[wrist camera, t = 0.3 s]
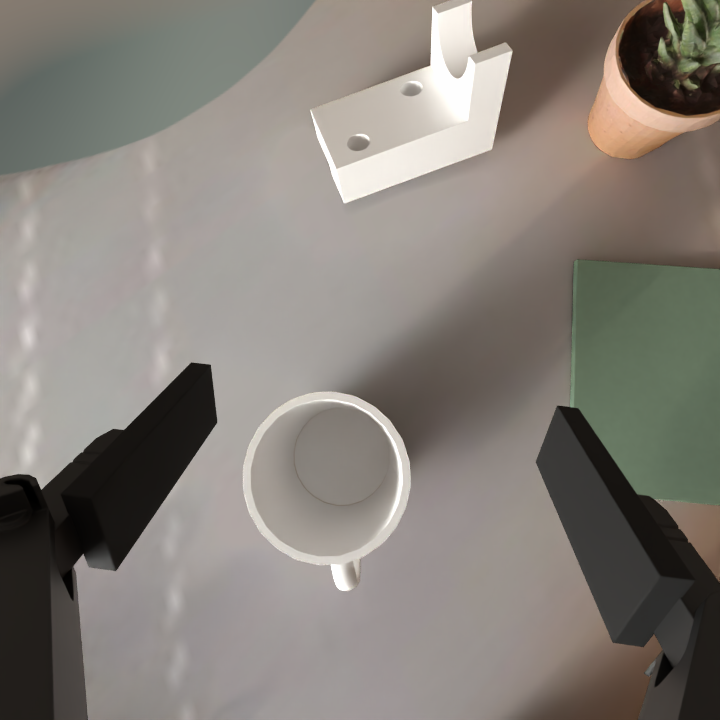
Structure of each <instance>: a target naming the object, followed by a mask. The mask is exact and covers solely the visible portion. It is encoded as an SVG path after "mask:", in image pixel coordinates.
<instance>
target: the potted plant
mask: <svg viewBox="0 0 720 720" xmlns="http://www.w3.org/2000/svg"><path fill="white" fill-rule="evenodd" d="M718 120H720V0H644V1H643V2H642V3H640V4H639V5H638V6H636V7H635V8H634V9H633V10H632V11H631V12H630V13H629V14H628V15H627V16H626V17H625V19H624V20H623V22H622V23H621V25H620V27H619V29H618V30H617V32H616V34H615V36H614V38H613V39H612V41H611V43H610V45H609V47H608V51H607V54H606V57H605V62H604V76H603V79H602V82H601V85H600V88H599V91H598V94H597V96H596V99H595V102H594V105H593V107H592V109H591V112H590V114H589V117H588V130H589V133H590V136H591V139H592V140H593V142H594V144H595V145H596V146H597V147H598V148H599V149H600V150H601V151H603V152H605V153H606V154H608V155H610V156H611V157H617V158H625V159H634V158H639V157H641V156H643V155H645V154H647V153H649V152H651V151H652V150H654V149H656V148H658V147H660V146H662V145H663V144H664V143H666V142H667V141H669V140H671V139H672V138H674V137H676V136H678V135H680V134H682V133H684V132H689V131H693V130H697V129H701V128H704V127H707V126H710V125H711V124H713V123H715V122H717V121H718Z"/></svg>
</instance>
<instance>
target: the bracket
mask: <svg viewBox="0 0 720 720" xmlns="http://www.w3.org/2000/svg"><path fill="white" fill-rule="evenodd" d="M471 10H472V0H450V1H447V2H444V3H442V4H439V5H436V6H433V9H432V39H431V65H430V66H428V67H425V68H422V69H419V70H417V71H414V72H411V73H409V74H406V75H403V76H400V77H398V78H395V79H392V80H389V81H387V82H384V83H381V84H378V85H376V86H373V87H370V88H368V89H365V90H362V91H359V92H357V93H354V94H351V95H348V96H346V97H343V98H340V99H338V100H335V101H332V102H329V103H327V104H324V105H321V106H318V107H316V108H313V109H310V110H311V114H312V118H313V121H314V125H315V129H316V133H317V137H318V139H319V142H320V144H321V146H322V149H323V151H324V153H325V156H326V158H327V160H328V163H329V165H330V169H331V173H332V176H333V178H334V181H335V183H336V185H337V188H338V190H339V192H340V195H341V197H342V199H343V202H344V204H345V203H347V202H350V201H353V200H356V199H358V198H361V197H364V196H366V195H369V194H372V193H375V192H377V191H380V190H383V189H386V188H388V187H391V186H394V185H396V184H399V183H402V182H405V181H407V180H410V179H413V178H416V177H418V176H421V175H424V174H426V173H429V172H432V171H435V170H437V169H440V168H443V167H445V166H448V165H451V164H454V163H456V162H459V161H462V160H465V159H467V158H470V157H473V156H475V155H478V154H481V153H484V152H486V151H489V150H492V147H493V142H494V137H495V132H496V128H497V123H498V118H499V113H500V108H501V104H502V99H503V94H504V89H505V84H506V80H507V75H508V70H509V65H510V61H511V56H512V51H513V50H512V49H511V48H510V47H509V45H508V44H507V43H506V42H505V43H503V44H500V45H497V46H494V47H492V48H489V49H486V50H483V51H481V52H477V49H476V46H475V42H474V37H473V31H472V18H471Z"/></svg>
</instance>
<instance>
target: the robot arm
mask: <svg viewBox="0 0 720 720" xmlns="http://www.w3.org/2000/svg"><path fill="white" fill-rule="evenodd" d="M216 424H217V415H216V407H215V398H214V389H213V381H212V372H211V365H208V364H199V363H190V364H189V365H188V366H187V367H186V368H185V369H184V370H183V371H182V372H181V373H180V374H179V375H178V376H177V377H176V378H175V379H174V380H173V381H172V382H171V383H170V384H169V385H168V387H167V388H166V389H165V390H164V391H163V392H162V393H161V394H160V395H159V396H158V397H157V398H156V399H155V400H154V401H153V402H152V403H151V404H150V405H149V406H148V407H147V408H146V409H145V410H144V411H143V412H142V413H141V414H140V415H139V416H138V417H137V418H136V419H135V420H134V421H133V422H132V423H131V424H130V425H129V426H128V427H127V428H126V429H125V430H118V429H112V430H110V431H109V432H107V433H105V434H103V435H101V436H100V437H98V438H96V439H95V440H94V441H93V442H92V443H91V444H90V445H89V446H88V447H87V448H85V449H84V452H83V453H80V454H79V455H78V456H77V457H76V458H75V459H74V460H73V462H71V463H69V464H68V465H67V466H66V467H65V468H64V469H63V470H62V471H61V472H60V473H59V474H58V475H57V476H56V477H55V478H54V479H52V480H51V481H50V482H49V483H48V484H47V485H46V486H45V487H44V488H43V489H42V490H41V489H40V486H39V484H38V482H37V479H36V478H35V477H32V476H30V475H21V474H17V475H12V476H7V477H3V478H0V720H88V715H87V702H86V690H85V678H84V665H83V653H82V641H81V629H80V616H79V604H78V592H77V580H76V572H75V570H74V567H73V566H74V564H75V563H76V562H77V561H78V559H79V558H80V557H81V556H82V554H83V553H84V556H85V559H86V561H87V564H88V566H89V567H92V568H99V569H106V570H113V571H116V570H117V569H118V567H119V566H120V564H121V563H122V562H123V560H124V559H125V557H126V556H127V554H128V553H129V551H130V550H131V548H132V547H133V545H134V544H135V542H136V541H137V540H138V538H139V537H140V535H141V534H142V532H143V531H144V529H145V528H146V526H147V525H148V523H149V522H150V520H151V519H152V518H153V516H154V515H155V513H156V512H157V510H158V509H159V507H160V506H161V504H162V503H163V501H164V500H165V498H166V497H167V495H168V494H169V493H170V491H171V490H172V488H173V487H174V485H175V484H176V482H177V481H178V479H179V478H180V476H181V475H182V473H183V472H184V471H185V469H186V468H187V466H188V465H189V463H190V462H191V460H192V459H193V457H194V456H195V454H196V453H197V451H198V450H199V449H200V447H201V446H202V444H203V443H204V441H205V440H206V438H207V437H208V435H209V434H210V432H211V431H212V429H213V428H214V427H215V425H216ZM536 464H537V466H538V468H539V471H540V473H541V475H542V478H543V480H544V482H545V485H546V487H547V489H548V492H549V494H550V497H551V499H552V501H553V504H554V506H555V508H556V511H557V513H558V515H559V518H560V520H561V522H562V525H563V527H564V529H565V532H566V534H567V536H568V539H569V541H570V543H571V546H572V548H573V550H574V553H575V555H576V557H577V560H578V562H579V565H580V567H581V569H582V572H583V574H584V576H585V579H586V581H587V583H588V586H589V588H590V590H591V593H592V595H593V597H594V600H595V602H596V604H597V607H598V609H599V611H600V614H601V616H602V618H603V621H604V623H605V625H606V628H607V630H608V632H609V635H610V637H611V640H612V642H613V643H619V644H626V645H633V646H640V647H644V646H645V645H646V643H647V642H648V641H649V640H650V638H651V637H652V636H653V635H654V634H655V636H656V638H657V640H658V642H659V643H660V645H661V647H662V649H663V650H662V652H661V653H660V654H659V655H658V656H657V658H656V659H655V660H654V661H653V662H652V664H651V665H650V666H649V667H648V669H647V670H646V671H645V672H644V674H646V675H647V676H648V677H649V676H650V675H651V674H652V675H651V679H650V682H649V685H648V688H647V692H646V695H645V698H644V702H643V705H642V708H641V711H640V715H639V718H638V720H720V583H719V581H718V580H717V578H716V577H715V576H714V574H713V573H712V572H711V570H710V569H709V568H708V566H707V565H706V563H705V562H704V561H703V559H702V558H701V557H700V555H699V554H698V553H697V551H696V550H695V548H694V547H693V546H692V544H691V543H688V539H687V538H686V536H685V535H684V533H683V532H682V531H681V529H678V525H677V524H676V522H675V521H674V520H673V518H672V517H671V516H670V514H669V513H668V512H667V510H666V509H664V508H663V507H662V506H661V505H660V504H659V503H657V502H656V501H655V500H654V499H653V498H652V497H650V496H647V495H639V494H637V493H636V492H635V490H634V489H633V487H632V486H631V484H630V483H629V481H628V480H627V479H626V477H625V476H624V474H623V473H622V471H621V470H620V468H619V467H618V465H617V464H616V462H615V461H614V459H613V458H612V457H611V455H610V454H609V452H608V451H607V449H606V448H605V446H604V445H603V443H602V442H601V440H600V439H599V437H598V436H597V435H596V433H595V432H594V430H593V429H592V427H591V426H590V424H589V423H588V421H587V420H586V418H585V417H584V415H583V414H582V413H581V411H580V410H579V408H574V407H565V406H557V408H556V410H555V413H554V416H553V418H552V421H551V423H550V426H549V429H548V431H547V434H546V437H545V439H544V442H543V444H542V447H541V450H540V452H539V455H538V457H537V460H536Z"/></svg>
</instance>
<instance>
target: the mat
mask: <svg viewBox="0 0 720 720" xmlns="http://www.w3.org/2000/svg"><path fill="white" fill-rule="evenodd" d="M570 407H574V408H579V410H580V411H581V413H582V414H583V415H584V417H585V418H586V420H587V421H588V423H589V424H590V426H591V427H592V429H593V430H594V432H595V433H596V435H597V436H598V437H599V439H600V440H601V442H602V443H603V445H604V446H605V448H606V449H607V451H608V452H609V454H610V455H611V457H612V458H613V459H614V461H615V462H616V464H617V465H618V467H619V468H620V470H621V471H622V473H623V474H624V476H625V477H626V479H627V480H628V481H629V483H630V484H631V486H632V487H633V489H634V490H635V492H636V493H637V494H639V495H647V496H650V497H652V498H653V499H660V500H670V501H680V502H690V503H700V504H710V505H720V269H711V268H697V267H682V266H667V265H653V264H638V263H623V262H609V261H594V260H579V259H577V260H576V261H574V277H573V316H572V354H571V393H570Z"/></svg>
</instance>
